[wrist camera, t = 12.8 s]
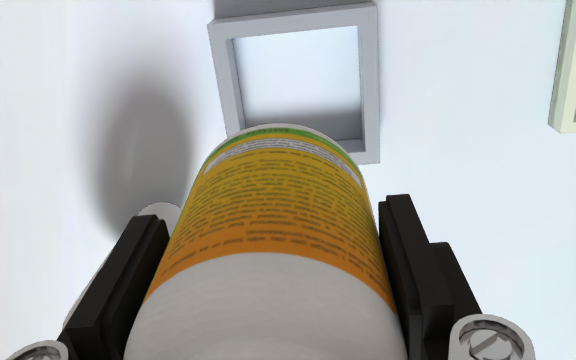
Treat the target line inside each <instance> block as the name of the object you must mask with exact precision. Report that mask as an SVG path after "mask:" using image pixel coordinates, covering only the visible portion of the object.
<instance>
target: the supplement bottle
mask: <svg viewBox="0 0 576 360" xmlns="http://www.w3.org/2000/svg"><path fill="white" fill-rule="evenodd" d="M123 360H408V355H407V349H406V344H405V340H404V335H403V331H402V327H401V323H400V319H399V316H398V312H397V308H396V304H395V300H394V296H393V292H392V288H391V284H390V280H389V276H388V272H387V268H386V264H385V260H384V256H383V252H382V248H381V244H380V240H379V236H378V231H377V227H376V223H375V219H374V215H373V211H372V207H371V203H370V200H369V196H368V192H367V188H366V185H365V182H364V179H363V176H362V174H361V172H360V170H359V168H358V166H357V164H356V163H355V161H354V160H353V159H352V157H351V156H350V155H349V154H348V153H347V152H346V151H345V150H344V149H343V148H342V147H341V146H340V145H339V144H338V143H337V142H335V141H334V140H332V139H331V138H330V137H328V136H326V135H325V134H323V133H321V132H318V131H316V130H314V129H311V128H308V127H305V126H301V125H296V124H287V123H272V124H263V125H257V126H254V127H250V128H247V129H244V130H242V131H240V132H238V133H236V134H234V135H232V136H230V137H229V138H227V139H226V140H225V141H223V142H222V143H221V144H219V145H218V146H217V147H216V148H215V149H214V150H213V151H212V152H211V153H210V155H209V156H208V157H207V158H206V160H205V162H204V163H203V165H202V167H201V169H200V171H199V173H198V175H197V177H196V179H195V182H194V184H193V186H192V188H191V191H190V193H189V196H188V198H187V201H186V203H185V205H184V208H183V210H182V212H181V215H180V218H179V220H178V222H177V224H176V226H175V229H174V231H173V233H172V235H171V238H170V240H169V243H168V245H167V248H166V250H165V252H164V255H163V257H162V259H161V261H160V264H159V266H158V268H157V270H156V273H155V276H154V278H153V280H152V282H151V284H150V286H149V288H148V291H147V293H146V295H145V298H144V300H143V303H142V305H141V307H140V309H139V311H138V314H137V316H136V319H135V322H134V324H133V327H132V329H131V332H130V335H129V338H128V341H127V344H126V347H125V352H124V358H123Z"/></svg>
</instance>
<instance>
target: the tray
mask: <svg viewBox="0 0 576 360" xmlns="http://www.w3.org/2000/svg"><path fill="white" fill-rule="evenodd" d="M548 125H549V126H551V127H552V128H553V129H555V130H556V131H557V132H559V133H560V134H561V133H573V132H576V0H567V2H566V9H565V15H564V22H563V28H562V35H561V41H560V48H559V55H558V61H557V68H556V74H555V81H554V87H553V94H552V100H551V107H550V113H549V120H548Z"/></svg>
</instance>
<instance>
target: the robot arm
mask: <svg viewBox="0 0 576 360" xmlns="http://www.w3.org/2000/svg"><path fill="white" fill-rule="evenodd" d="M378 211H379V240H380V244H381V248H382V252H383V256H384V260H385V264H386V268H387V272H388V276H389V280H390V284H391V288H392V292H393V296H394V300H395V304H396V308H397V312H398V316H399V319H400V323H401V327H402V331H403V335H404V340H405V344H406V349H407V355H408V360H535V352H534V347H533V344H532V341H531V339H530V338H529V337H528V335H527V334H526V333H525V332H524V331H523V330H522V329H521V328H520V327H518V326H517V325H516V324H514V323H512V322H510V321H508V320H506V319H504V318H501V317H498V316H494V315H488V314H482V311H481V309H480V307H479V305H478V303H477V301H476V299H475V297H474V295H473V293H472V291H471V288H470V286H469V284H468V282H467V280H466V278H465V276H464V274H463V272H462V270H461V267H460V265H459V263H458V261H457V259H456V257H455V255H454V253H453V251H452V249H451V247H450V245H449V243H447V242H438V243H429V241H428V238H427V236H426V234H425V231H424V229H423V226H422V224H421V221H420V219H419V217H418V214H417V212H416V209H415V207H414V205H413V202H412V200H411V197H410V195H409V194H400V195H387V196H386V201H382V202H379V204H378ZM169 240H170V236H169V232H168V229H167V225H166V222H165V220H164V219H159V218H158V217H157V215H155V214H152V215H140V216H133V217H132V219H131V220H130V222H129V223H128V225H127V227H126V228H125V230H124V232H123V233H122V235H121V237H120V238H119V240H118V242H117V243H116V245H115V247H114V248H113V250H112V252H111V253H110V255H109V257H108V258H107V260H106V261H105V263H104V265H103V266H102V268H101V269H100V270H99V272H98V273H97V275H96V276H95V278H94V280H93V281H92V283H91V284H90V286H89V288H88V289H87V291H86V293H85V294H84V296H83V298H82V299H81V301H80V303H79V304H78V306H77V307H76V309H75V311H74V312H73V314H72V316H71V317H70V319H69V321H68V322H67V324H66V326H65V327H64V329H63V330H62V332H61V334H60V335H59V337H58V339H57V340H56V341H53V340H46V341H40V342H36V343H33V344H31V345H28V346H26V347H24V348H22V349H20V350H19V351H17V352H15V353H14V354H13V355H11V356H10V357H9V358H8V359H6V360H123V358H124V352H125V347H126V344H127V341H128V338H129V335H130V332H131V329H132V327H133V324H134V322H135V319H136V316H137V314H138V311H139V309H140V307H141V305H142V303H143V300H144V298H145V295H146V293H147V291H148V288H149V286H150V284H151V282H152V280H153V278H154V276H155V273H156V270H157V268H158V266H159V264H160V261H161V259H162V257H163V255H164V252H165V250H166V248H167V245H168V243H169Z"/></svg>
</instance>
